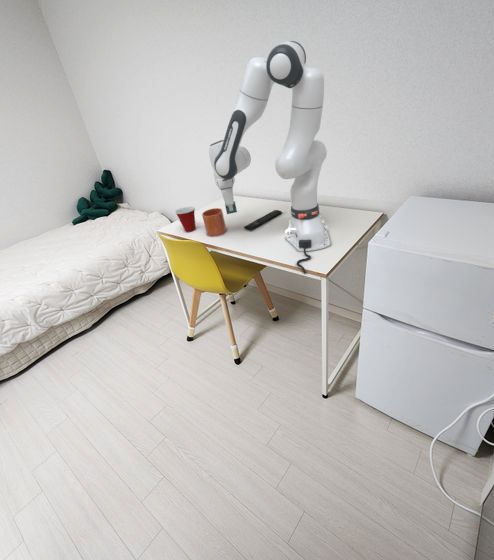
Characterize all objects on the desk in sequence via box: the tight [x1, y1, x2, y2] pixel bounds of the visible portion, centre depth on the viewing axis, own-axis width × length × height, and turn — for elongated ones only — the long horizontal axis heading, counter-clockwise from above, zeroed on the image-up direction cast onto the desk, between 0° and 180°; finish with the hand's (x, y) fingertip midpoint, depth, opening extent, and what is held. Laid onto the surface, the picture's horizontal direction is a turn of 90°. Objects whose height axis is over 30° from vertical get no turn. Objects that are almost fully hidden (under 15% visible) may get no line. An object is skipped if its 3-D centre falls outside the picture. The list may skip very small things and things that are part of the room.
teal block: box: [224, 200, 238, 215], centre depth 147 cm, size 5×5×4 cm
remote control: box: [243, 209, 283, 231], centre depth 162 cm, size 5×24×1 cm, turn 133°
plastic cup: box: [174, 206, 197, 233], centre depth 166 cm, size 11×11×12 cm
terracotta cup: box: [201, 207, 227, 238], centre depth 158 cm, size 10×10×11 cm
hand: (231, 208), depth 147 cm, fingers closed on teal block, 5 cm apart
